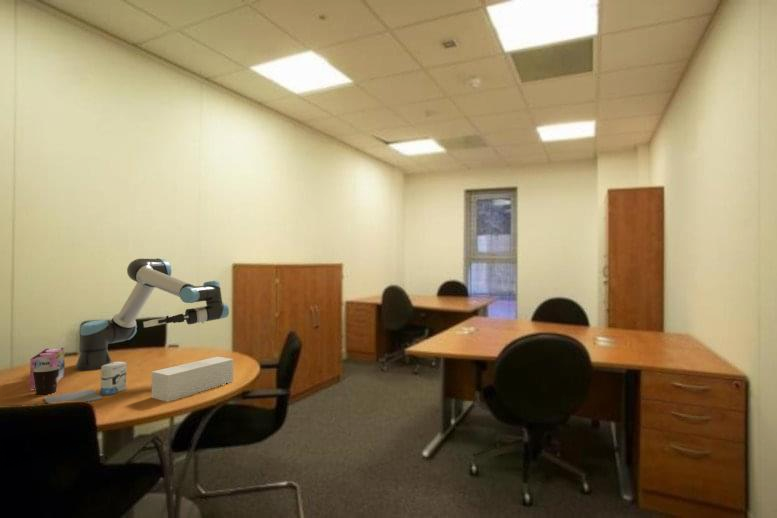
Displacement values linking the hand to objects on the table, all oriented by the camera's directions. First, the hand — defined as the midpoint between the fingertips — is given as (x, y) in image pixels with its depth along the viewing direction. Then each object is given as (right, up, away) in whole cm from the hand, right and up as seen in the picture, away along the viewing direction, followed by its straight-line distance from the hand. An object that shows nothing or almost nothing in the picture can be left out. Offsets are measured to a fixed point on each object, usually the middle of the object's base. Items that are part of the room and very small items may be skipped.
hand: (146, 324), depth 192 cm
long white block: (+26, -27, -9) cm, 39 cm away
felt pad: (-16, -26, -24) cm, 39 cm away
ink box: (-6, -27, -13) cm, 31 cm away
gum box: (-44, -27, -1) cm, 51 cm away
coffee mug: (-32, -26, -18) cm, 45 cm away
